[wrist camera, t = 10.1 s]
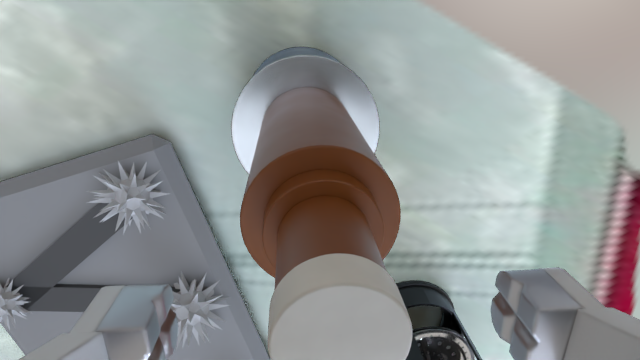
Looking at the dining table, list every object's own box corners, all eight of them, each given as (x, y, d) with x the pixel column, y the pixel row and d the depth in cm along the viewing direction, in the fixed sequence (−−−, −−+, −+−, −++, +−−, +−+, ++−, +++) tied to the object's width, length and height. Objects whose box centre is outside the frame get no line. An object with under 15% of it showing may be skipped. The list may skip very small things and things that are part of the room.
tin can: (359, 44, 32) (383, 54, 24) (355, 155, 36) (376, 197, 27) (241, 45, 32) (224, 56, 23) (249, 158, 35) (237, 202, 27)
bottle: (352, 86, 24) (485, 225, 8) (350, 173, 27) (452, 426, 10) (258, 87, 24) (195, 236, 8) (263, 176, 26) (223, 443, 10)
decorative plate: (-72, 201, 34) (-157, 245, 28) (169, 126, 34) (140, 152, 27) (101, 433, 46) (69, 504, 39) (284, 381, 45) (284, 444, 38)
